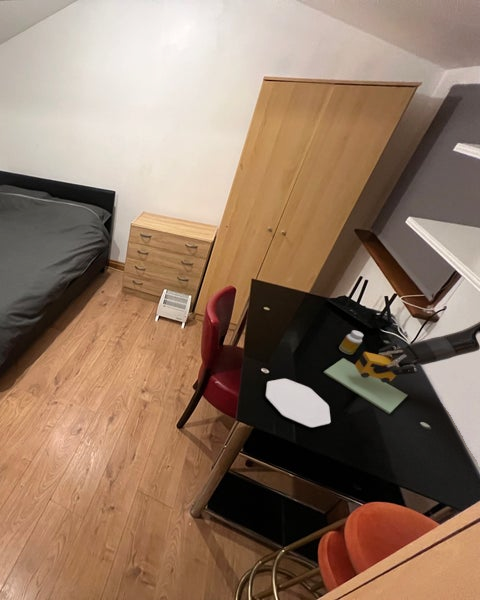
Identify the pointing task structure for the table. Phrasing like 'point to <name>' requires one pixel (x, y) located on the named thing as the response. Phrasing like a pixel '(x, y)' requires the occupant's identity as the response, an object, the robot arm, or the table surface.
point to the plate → (298, 403)
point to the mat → (366, 386)
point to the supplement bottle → (351, 342)
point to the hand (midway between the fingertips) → (371, 365)
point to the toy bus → (374, 366)
